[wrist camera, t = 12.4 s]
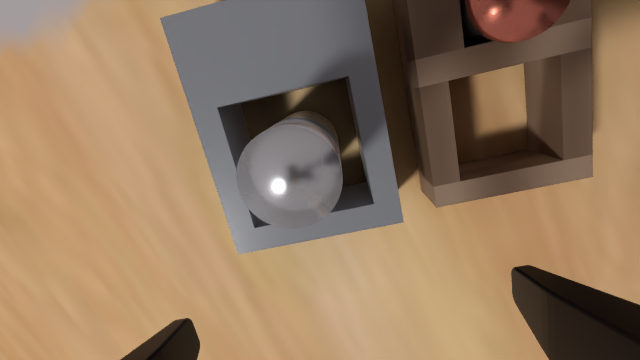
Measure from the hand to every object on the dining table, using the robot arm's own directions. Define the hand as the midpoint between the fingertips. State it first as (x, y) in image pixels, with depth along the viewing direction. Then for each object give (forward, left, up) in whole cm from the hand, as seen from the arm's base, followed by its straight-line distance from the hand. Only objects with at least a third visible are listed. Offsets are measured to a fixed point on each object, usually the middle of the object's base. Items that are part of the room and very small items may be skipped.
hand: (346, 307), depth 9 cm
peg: (+1, -3, -12) cm, 12 cm away
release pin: (-9, -8, -11) cm, 16 cm away
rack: (+2, -4, -12) cm, 13 cm away
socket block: (-9, -4, -12) cm, 16 cm away
